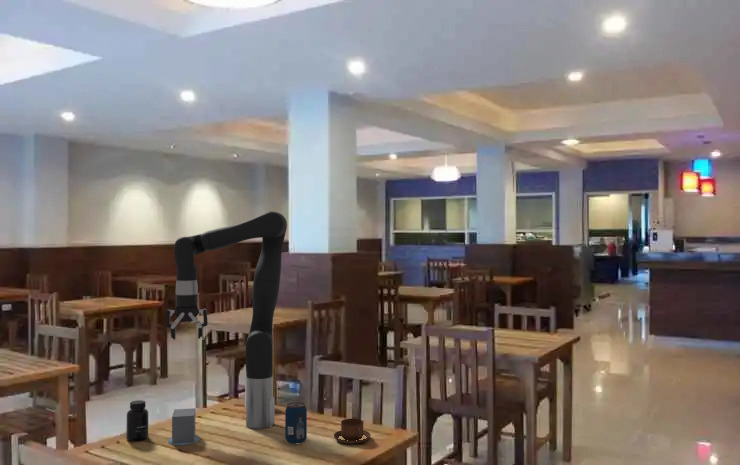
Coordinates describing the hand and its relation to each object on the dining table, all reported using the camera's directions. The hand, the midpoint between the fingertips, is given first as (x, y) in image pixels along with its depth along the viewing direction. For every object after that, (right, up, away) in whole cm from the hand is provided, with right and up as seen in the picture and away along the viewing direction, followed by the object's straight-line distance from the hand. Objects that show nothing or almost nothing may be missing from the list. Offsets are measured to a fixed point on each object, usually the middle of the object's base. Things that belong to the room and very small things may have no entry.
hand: (186, 338), depth 229 cm
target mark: (+4, -30, -18) cm, 35 cm away
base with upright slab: (+21, -30, +21) cm, 43 cm away
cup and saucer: (+59, -31, -17) cm, 69 cm away
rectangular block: (+4, -30, -17) cm, 35 cm away
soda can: (+41, -31, -19) cm, 54 cm away
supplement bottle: (-12, -30, -16) cm, 36 cm away
